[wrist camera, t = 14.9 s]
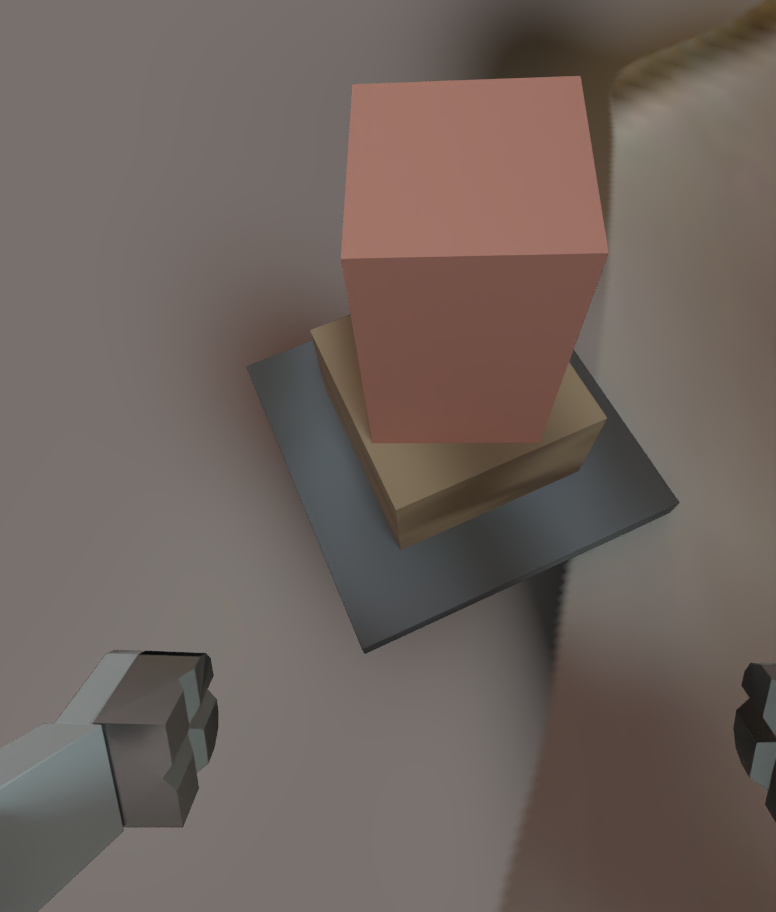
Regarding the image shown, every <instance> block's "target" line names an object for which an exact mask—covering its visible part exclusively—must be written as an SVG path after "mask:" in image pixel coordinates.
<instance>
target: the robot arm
mask: <svg viewBox="0 0 776 912" xmlns="http://www.w3.org/2000/svg"><path fill="white" fill-rule="evenodd" d="M212 678H213V670H212V664H211V658H210V657H209V656H208V655H207V654H206V653H188V652H164V651H144V652H143V651H127V650H114V651H111V652H109V653H107V654H106V655H105V656H104V657H103V658H102V660H101V661H100V662H99V664H98V665H97V666H96V668H95V669H94V671H93V672H92V673H91V675H90V676H89V677H88V679H87V680H86V681H85V683H84V684H83V685H82V687H81V688H80V689H79V691H78V692H77V693H76V695H75V696H74V697H73V699H72V700H71V701H70V703H69V704H68V706H67V707H66V708H65V709H64V711H63V712H62V713H61V715H60V716H59V717H58V719H57V720H56V722H55V723H44V724H42V725H40V726H39V727H37V728H35V729H34V730H32V731H30V732H28V733H26V734H25V735H23V736H21V737H19V738H18V739H16V740H14V741H13V742H11V743H9V744H7V745H5V746H4V747H2V748H0V912H38V911H39V910H40V909H41V908H42V907H43V906H44V905H45V904H46V903H47V902H48V901H50V900H51V899H52V898H53V897H54V896H55V895H56V894H57V893H58V892H59V891H60V890H61V889H62V888H63V887H64V886H65V885H67V884H68V883H69V882H70V881H71V880H72V879H73V878H74V877H75V876H76V875H77V874H78V873H79V872H80V871H81V870H83V869H84V868H85V867H86V866H87V865H88V864H89V863H90V862H91V861H92V860H93V859H94V858H95V857H96V856H97V855H98V854H100V853H101V852H102V851H103V850H104V849H105V848H106V847H107V846H108V845H109V844H110V843H111V842H112V841H113V840H114V839H116V838H117V837H118V836H119V835H120V834H121V833H122V832H123V830H124V829H123V827H183V825H184V823H185V821H186V818H187V816H188V813H189V811H190V808H191V806H192V803H193V801H194V799H195V796H196V794H197V791H198V788H199V786H198V780H197V772H198V771H199V770H201V769H202V768H203V767H205V766H206V765H207V764H208V763H209V761H210V758H211V755H212V753H213V750H214V747H215V742H216V736H217V731H218V705H217V699H216V698H215V697H214V696H213V695H212V694H211V692H210V691H209V690H207V689H208V687H209V684H210V682H211V680H212ZM742 687H743V688H744V690H745V691H746V693H747V694H748V696H749V697H750V698H749V699H748V700H747V701H746V702H745V703H743V704H742V705H741V706H740V707H739V708H738V709H737V710H736V716H735V722H734V737H735V745H736V750H737V753H738V755H739V758H740V761H741V764H742V765H743V767H744V769H745V771H746V772H747V774H748V776H749V778H751V779H752V780H753V781H755V782H756V783H758V784H759V785H760V786H762V787H763V788H765V789H766V790H768V794H767V798H766V803H765V805H766V807H767V808H768V810H769V812H770V813H771V815H772V817H773V818H774V820H775V822H776V663H750V664H749V666H748V667H747V669H746V670H745V672H744V677H743V681H742Z"/></svg>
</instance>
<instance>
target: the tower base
mask: <svg viewBox="0 0 776 912" xmlns="http://www.w3.org/2000/svg"><path fill="white" fill-rule="evenodd" d="M310 332H311V336H312V341H310V342H307V343H305V344H302V345H300V346H297V347H295V348H292V349H289V350H287V351H285V352H282V353H279V354H277V355H274V356H272V357H270V358H267V359H264V360H261V361H259V362H256V363H254V364H251V365H249V366H247V370H248V372H249V375H250V377H251V380H252V382H253V384H254V387H255V389H256V392H257V394H258V397H259V399H260V402H261V404H262V406H263V409H264V411H265V414H266V416H267V419H268V421H269V423H270V426H271V428H272V431H273V433H274V435H275V438H276V441H277V443H278V445H279V448H280V450H281V453H282V455H283V458H284V460H285V462H286V465H287V467H288V470H289V472H290V475H291V477H292V479H293V482H294V484H295V487H296V489H297V492H298V494H299V497H300V499H301V501H302V504H303V506H304V509H305V511H306V514H307V516H308V519H309V521H310V523H311V526H312V528H313V530H314V533H315V536H316V538H317V540H318V543H319V545H320V548H321V550H322V553H323V555H324V558H325V560H326V562H327V565H328V567H329V569H330V572H331V575H332V577H333V579H334V582H335V584H336V587H337V589H338V592H339V594H340V596H341V599H342V601H343V604H344V606H345V609H346V611H347V613H348V616H349V618H350V621H351V623H352V625H353V628H354V631H355V633H356V636H357V638H358V640H359V643H360V645H361V648H362V650H363V651H364V653H368V652H370V651H372V650H374V649H376V648H379V647H381V646H383V645H385V644H387V643H389V642H391V641H394V640H396V639H398V638H400V637H402V636H404V635H407V634H408V633H411V632H413V631H415V630H417V629H419V628H422V627H424V626H426V625H428V624H430V623H432V622H434V621H437V620H439V619H441V618H443V617H445V616H448V615H450V614H452V613H454V612H456V611H458V610H460V609H463V608H465V607H467V606H469V605H471V604H474V603H476V602H478V601H480V600H482V599H484V598H486V597H488V596H491V595H493V594H495V593H497V592H499V591H502V590H504V589H506V588H508V587H510V586H512V585H515V584H516V583H519V582H521V581H523V580H525V579H527V578H530V577H532V576H534V575H536V574H538V573H540V572H543V571H545V570H547V569H549V568H551V567H553V566H556V565H558V564H560V563H562V562H564V561H566V560H568V559H571V558H573V557H575V556H577V555H579V554H581V553H584V552H586V551H588V550H590V549H592V548H594V547H597V546H599V545H601V544H603V543H605V542H607V541H609V540H612V539H614V538H616V537H618V536H620V535H622V534H625V533H627V532H629V531H631V530H633V529H635V528H638V527H640V526H642V525H644V524H646V523H648V522H651V521H653V520H655V519H657V518H659V517H661V516H663V515H666V514H668V513H670V512H671V511H672V510H673V509H674V508H675V507H676V506H677V505H678V504H679V501H678V500H677V499H676V497H675V496H674V494H673V493H672V491H671V490H670V488H669V487H668V485H667V484H666V483H665V481H664V480H663V478H662V477H661V475H660V474H659V472H658V471H657V470H656V468H655V467H654V465H653V464H652V462H651V461H650V459H649V458H648V457H647V455H646V454H645V452H644V451H643V449H642V448H641V446H640V445H639V444H638V442H637V441H636V439H635V438H634V436H633V435H632V433H631V432H630V430H629V429H628V428H627V426H626V425H625V423H624V422H623V420H622V419H621V417H620V416H619V415H618V413H617V412H616V410H615V409H614V407H613V406H612V404H611V403H610V402H609V400H608V399H607V397H606V396H605V394H604V393H603V391H602V390H601V389H600V387H599V386H598V384H597V383H596V381H595V380H594V378H593V377H592V375H591V374H590V373H589V371H588V370H587V368H586V367H585V365H584V364H583V362H582V361H581V360H580V358H579V357H578V355H577V354H576V352H575V351H574V350H573V352H572V355H571V358H570V361H569V363H568V366H567V369H566V372H565V374H564V377H563V380H562V383H561V385H560V388H559V391H558V394H557V396H556V399H555V402H554V405H553V407H552V410H551V413H550V416H549V418H548V421H547V424H546V427H545V429H544V432H543V435H542V438H541V440H540V443H372V437H371V431H370V425H369V419H368V414H367V408H366V402H365V396H364V390H363V385H362V379H361V373H360V367H359V361H358V355H357V350H356V344H355V338H354V332H353V326H352V320H351V315H348V316H346V317H343V318H340V319H338V320H335V321H333V322H330V323H327V324H325V325H322V326H320V327H317V328H315V329H312V330H310Z"/></svg>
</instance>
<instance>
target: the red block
mask: <svg viewBox="0 0 776 912" xmlns="http://www.w3.org/2000/svg"><path fill="white" fill-rule="evenodd" d="M608 253H609V252H608V246H607V240H606V234H605V227H604V221H603V215H602V209H601V202H600V197H599V190H598V183H597V177H596V171H595V165H594V158H593V152H592V146H591V140H590V133H589V127H588V121H587V114H586V108H585V102H584V95H583V89H582V83H581V77H580V76H566V77H542V78H541V77H540V78H512V79H484V80H457V81H434V82H433V81H430V82H403V83H376V84H353V87H352V102H351V116H350V131H349V147H348V161H347V176H346V192H345V206H344V220H343V235H342V250H341V262H342V268H343V274H344V280H345V285H346V291H347V296H348V303H349V309H350V315H351V320H352V326H353V332H354V338H355V344H356V350H357V355H358V361H359V367H360V373H361V379H362V385H363V390H364V396H365V402H366V408H367V414H368V419H369V425H370V431H371V437H372V443H540V440H541V438H542V435H543V432H544V429H545V427H546V424H547V421H548V418H549V416H550V413H551V410H552V407H553V405H554V402H555V399H556V396H557V394H558V391H559V388H560V385H561V383H562V380H563V377H564V374H565V372H566V369H567V366H568V363H569V361H570V358H571V355H572V352H573V350H574V347H575V344H576V341H577V338H578V336H579V333H580V330H581V328H582V325H583V322H584V319H585V317H586V314H587V311H588V308H589V306H590V303H591V300H592V297H593V295H594V292H595V289H596V286H597V284H598V281H599V278H600V275H601V273H602V270H603V267H604V264H605V262H606V259H607V256H608Z"/></svg>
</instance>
